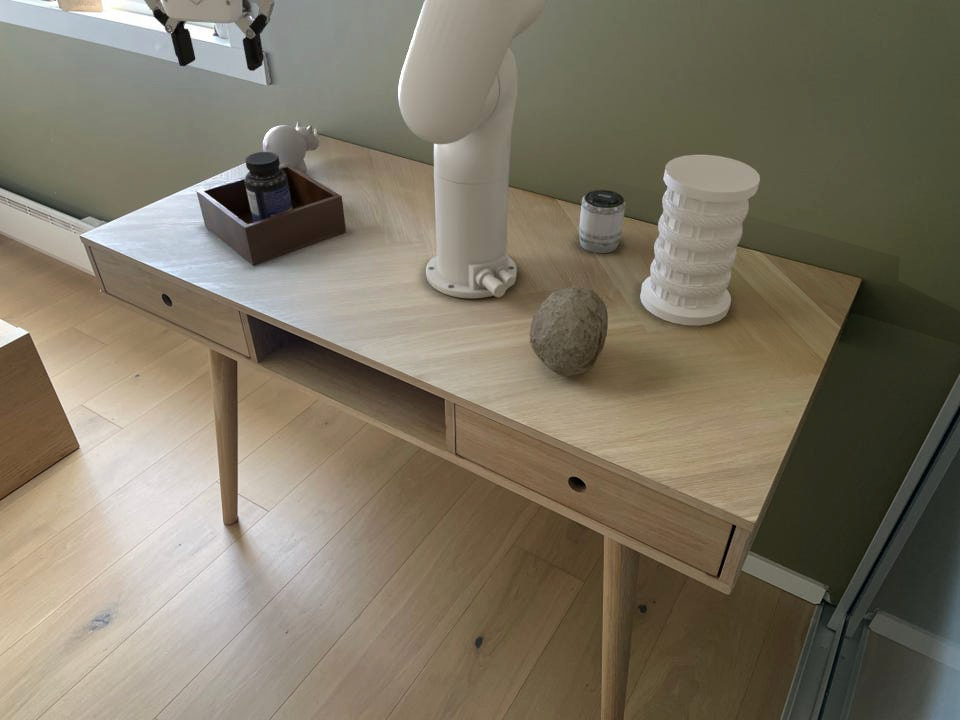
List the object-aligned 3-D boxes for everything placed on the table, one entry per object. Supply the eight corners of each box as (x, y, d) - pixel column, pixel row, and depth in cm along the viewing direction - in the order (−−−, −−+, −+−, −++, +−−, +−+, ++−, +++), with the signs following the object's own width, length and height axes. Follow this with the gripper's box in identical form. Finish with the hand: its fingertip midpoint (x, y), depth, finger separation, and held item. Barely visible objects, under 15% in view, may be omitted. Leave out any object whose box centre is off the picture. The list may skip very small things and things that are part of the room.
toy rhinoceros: (336, 163, 131) (330, 116, 125) (289, 186, 123) (281, 137, 117) (306, 154, 134) (300, 108, 128) (259, 176, 126) (250, 128, 120)
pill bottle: (300, 218, 112) (289, 150, 105) (288, 237, 107) (276, 167, 100) (262, 216, 113) (248, 148, 106) (248, 235, 108) (233, 164, 101)
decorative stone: (548, 333, 89) (553, 263, 83) (613, 352, 86) (624, 281, 80) (513, 379, 82) (517, 306, 76) (583, 401, 79) (592, 328, 73)
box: (346, 232, 110) (342, 195, 106) (253, 266, 102) (244, 228, 98) (294, 198, 119) (289, 163, 115) (205, 227, 111) (196, 190, 107)
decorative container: (641, 321, 91) (664, 189, 80) (638, 274, 100) (659, 150, 89) (734, 329, 90) (771, 196, 79) (723, 281, 99) (754, 156, 88)
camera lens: (583, 231, 111) (588, 183, 106) (623, 238, 109) (630, 190, 104) (572, 250, 106) (577, 200, 101) (614, 257, 104) (621, 208, 99)
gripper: (106, -83, 83) (146, 69, 94) (245, -78, 81) (271, 78, 92) (141, -91, 89) (175, 54, 100) (272, -86, 87) (293, 61, 97)
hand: (221, 65), depth 96 cm, fingers open, 9 cm apart
